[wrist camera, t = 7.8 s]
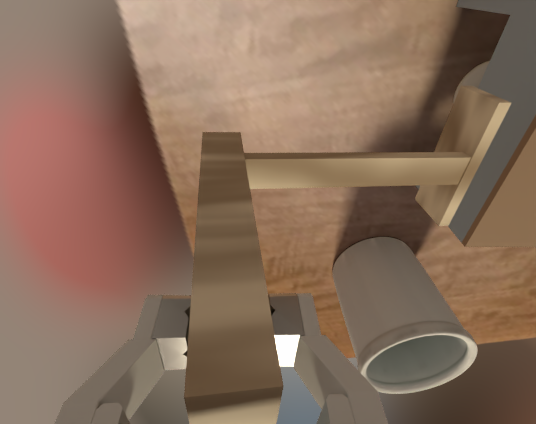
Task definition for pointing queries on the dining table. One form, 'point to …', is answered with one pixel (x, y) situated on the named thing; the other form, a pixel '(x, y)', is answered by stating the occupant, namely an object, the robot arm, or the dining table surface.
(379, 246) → the utensil holder
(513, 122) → the wooden top stool
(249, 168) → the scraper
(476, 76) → the smooth oval stone
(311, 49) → the dining table surface
